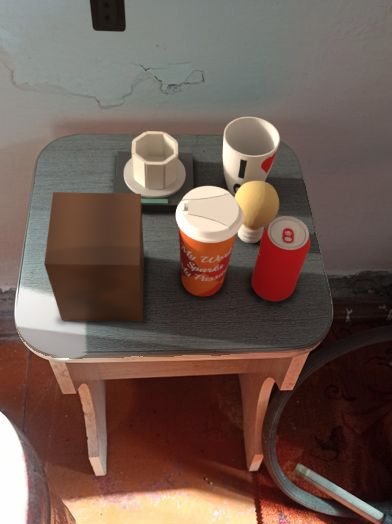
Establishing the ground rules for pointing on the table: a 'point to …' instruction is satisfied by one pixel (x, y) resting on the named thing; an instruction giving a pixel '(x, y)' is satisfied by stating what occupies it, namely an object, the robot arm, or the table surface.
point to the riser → (96, 256)
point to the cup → (248, 151)
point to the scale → (155, 197)
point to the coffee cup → (207, 237)
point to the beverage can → (280, 258)
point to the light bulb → (256, 208)
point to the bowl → (155, 159)
